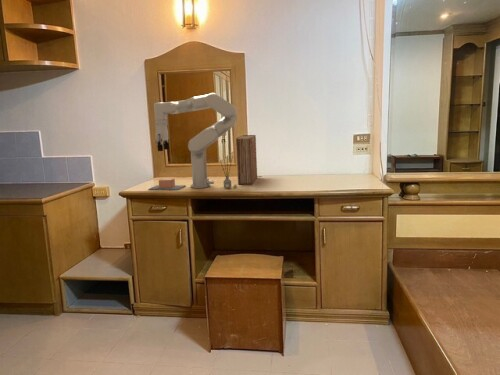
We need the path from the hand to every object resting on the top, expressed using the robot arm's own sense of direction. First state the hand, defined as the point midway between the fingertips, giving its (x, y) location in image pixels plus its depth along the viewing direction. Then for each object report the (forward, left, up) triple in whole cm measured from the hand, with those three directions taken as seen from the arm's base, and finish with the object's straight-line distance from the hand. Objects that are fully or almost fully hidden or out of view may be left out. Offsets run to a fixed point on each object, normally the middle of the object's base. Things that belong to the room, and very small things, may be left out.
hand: (163, 150), depth 246 cm
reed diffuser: (-41, -1, -24) cm, 48 cm away
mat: (-1, +2, -24) cm, 24 cm away
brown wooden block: (-48, -24, -24) cm, 59 cm away
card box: (-1, +2, -23) cm, 24 cm away
